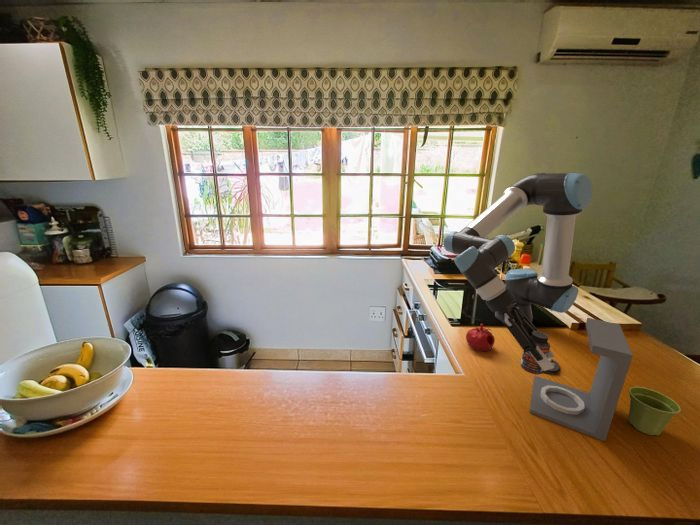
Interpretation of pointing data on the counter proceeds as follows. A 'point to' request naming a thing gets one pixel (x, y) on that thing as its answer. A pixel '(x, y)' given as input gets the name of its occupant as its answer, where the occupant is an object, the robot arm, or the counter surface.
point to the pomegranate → (480, 338)
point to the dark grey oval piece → (556, 367)
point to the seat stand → (599, 405)
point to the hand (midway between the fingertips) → (549, 362)
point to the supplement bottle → (527, 359)
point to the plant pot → (650, 410)
